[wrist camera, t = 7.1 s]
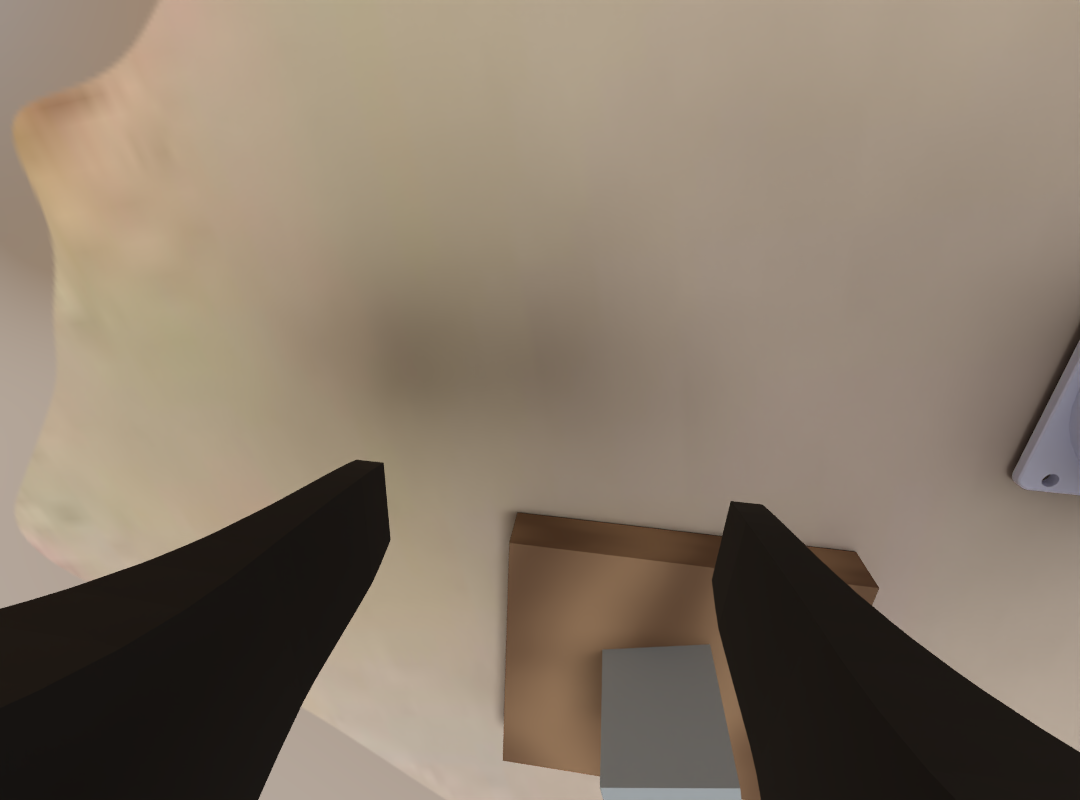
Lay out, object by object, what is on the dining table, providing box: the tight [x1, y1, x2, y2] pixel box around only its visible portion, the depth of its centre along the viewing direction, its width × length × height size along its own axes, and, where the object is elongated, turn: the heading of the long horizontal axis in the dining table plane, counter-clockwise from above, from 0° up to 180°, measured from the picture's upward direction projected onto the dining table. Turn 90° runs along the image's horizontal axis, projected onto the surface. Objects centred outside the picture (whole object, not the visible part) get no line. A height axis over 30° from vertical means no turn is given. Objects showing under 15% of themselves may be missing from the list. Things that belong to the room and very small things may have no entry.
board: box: [503, 513, 879, 800], centre depth 24 cm, size 14×14×2 cm
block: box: [600, 644, 741, 800], centre depth 20 cm, size 4×4×6 cm
